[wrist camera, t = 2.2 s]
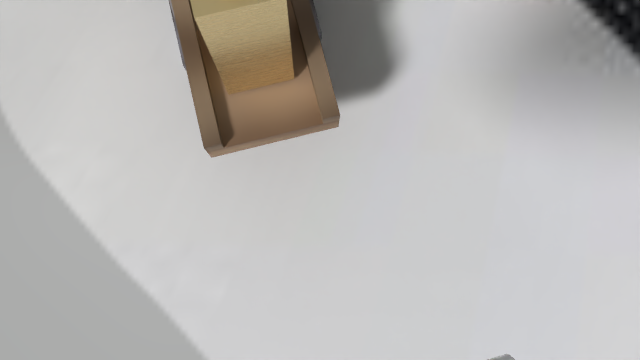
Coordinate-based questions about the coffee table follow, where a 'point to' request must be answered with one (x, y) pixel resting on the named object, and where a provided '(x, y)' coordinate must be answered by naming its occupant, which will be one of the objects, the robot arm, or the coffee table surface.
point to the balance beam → (260, 103)
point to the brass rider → (246, 41)
